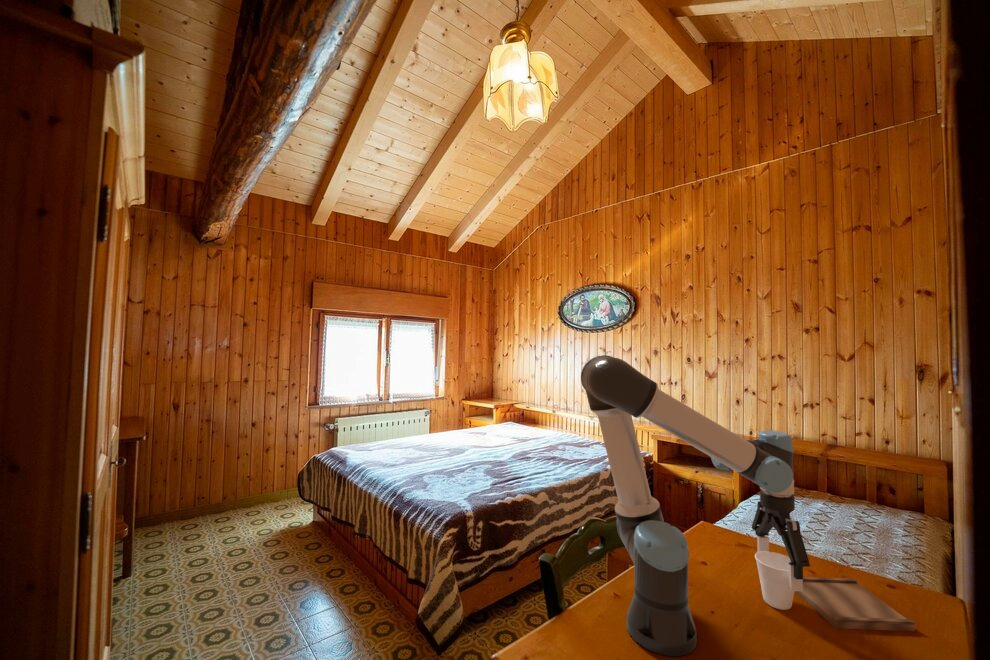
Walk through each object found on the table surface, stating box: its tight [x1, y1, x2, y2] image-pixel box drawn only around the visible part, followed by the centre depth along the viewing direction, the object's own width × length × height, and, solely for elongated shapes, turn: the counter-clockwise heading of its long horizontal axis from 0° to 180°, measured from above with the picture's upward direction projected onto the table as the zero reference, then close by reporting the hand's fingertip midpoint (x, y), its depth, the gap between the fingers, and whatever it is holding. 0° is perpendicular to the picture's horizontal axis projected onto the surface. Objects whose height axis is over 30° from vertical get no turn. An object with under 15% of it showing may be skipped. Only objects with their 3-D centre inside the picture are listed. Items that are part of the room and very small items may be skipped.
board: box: [794, 576, 916, 632], centre depth 109 cm, size 18×18×2 cm
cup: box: [754, 550, 796, 611], centre depth 110 cm, size 10×10×11 cm
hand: (778, 574), depth 110 cm, fingers open, 13 cm apart
